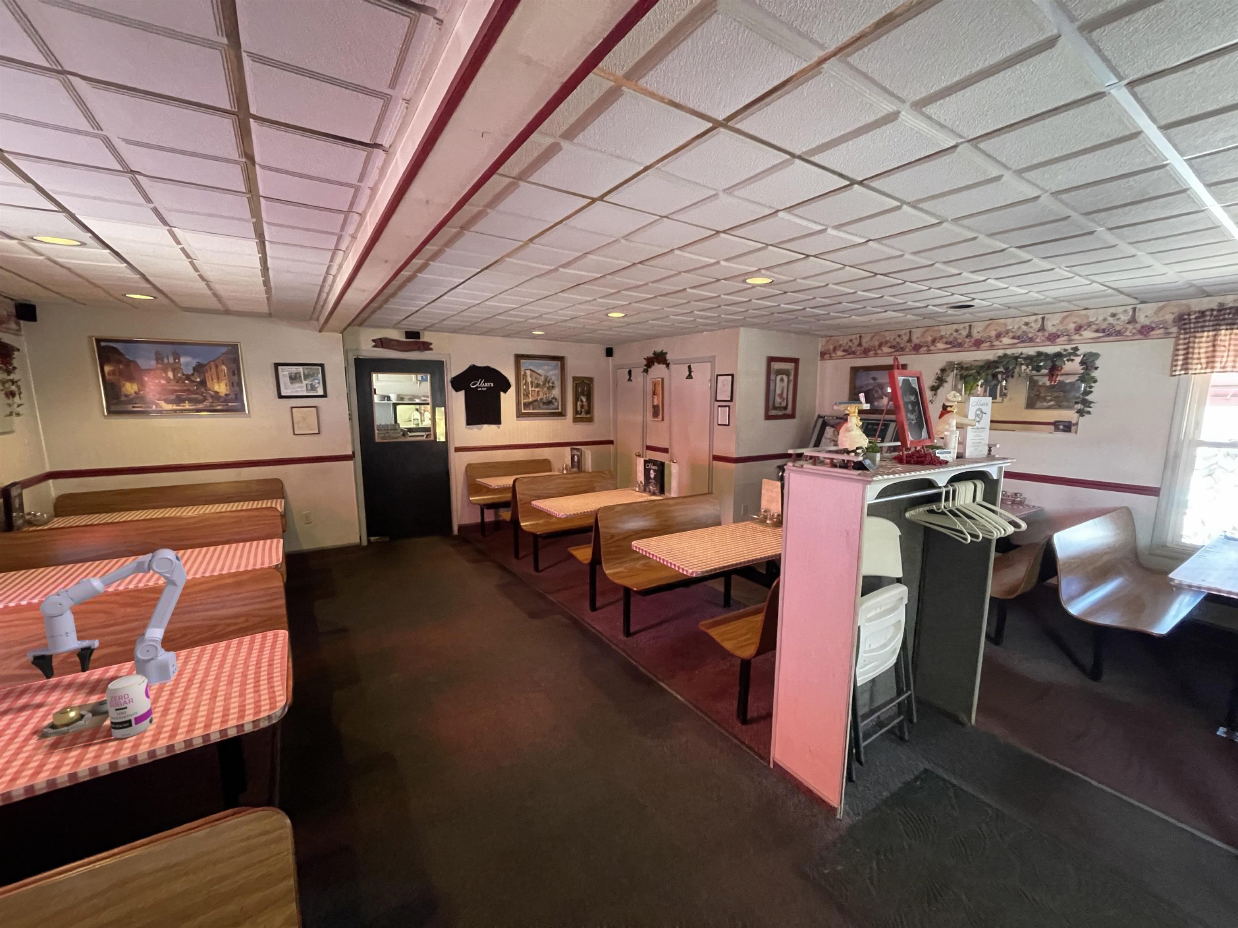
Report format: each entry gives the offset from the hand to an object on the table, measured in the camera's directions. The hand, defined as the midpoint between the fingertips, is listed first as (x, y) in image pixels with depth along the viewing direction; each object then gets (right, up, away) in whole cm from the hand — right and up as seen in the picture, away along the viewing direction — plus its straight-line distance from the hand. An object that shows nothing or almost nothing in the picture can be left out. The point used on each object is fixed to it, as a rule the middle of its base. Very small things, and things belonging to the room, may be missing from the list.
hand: (68, 674), depth 144 cm
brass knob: (+11, -11, -9) cm, 18 cm away
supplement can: (+31, -12, -10) cm, 34 cm away
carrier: (+11, -11, -5) cm, 16 cm away
